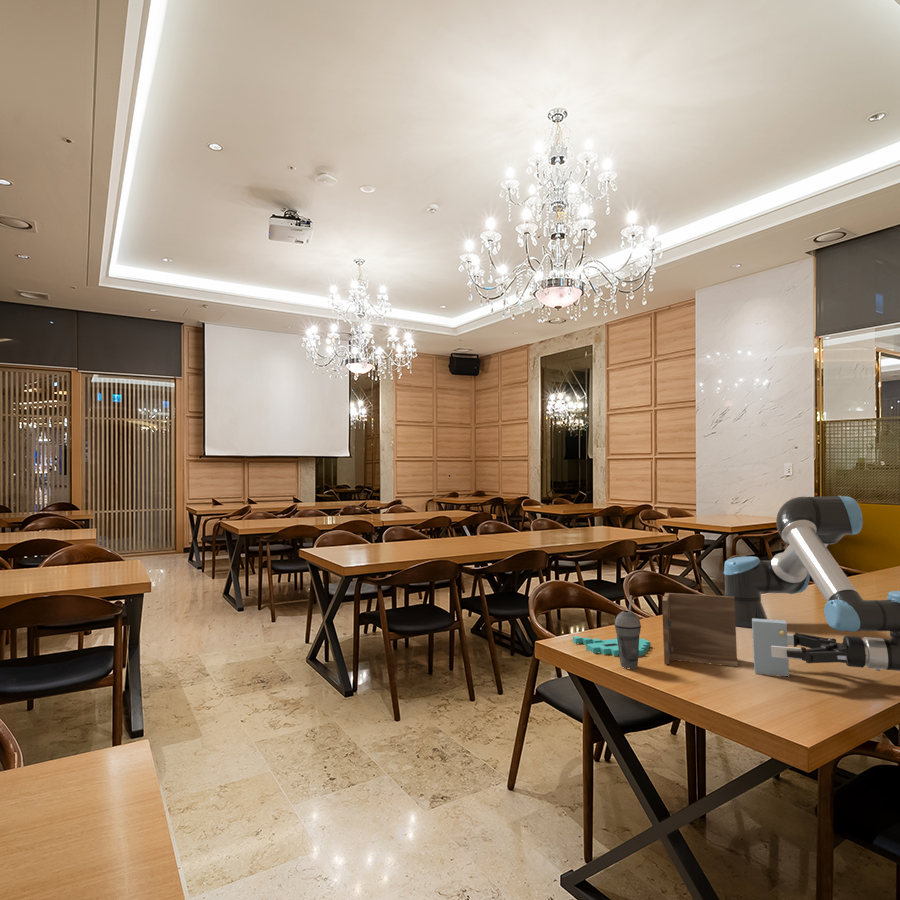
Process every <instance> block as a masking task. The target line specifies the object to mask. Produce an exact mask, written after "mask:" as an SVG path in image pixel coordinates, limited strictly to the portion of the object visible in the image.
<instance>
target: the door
mask: <svg viewBox="0 0 900 900" xmlns="http://www.w3.org/2000/svg"><path fill="white" fill-rule="evenodd" d="M751 628H752V643H753V644H752V645H753V646H752V647H753V667H754V668H753V670H755V671H754V674H755V673H757V674H756V675H762V674H766V675H765V676H771V675H778V676H777V677H781V676H788V677H787V678H790V667H789V666H790V665H789V663H790V662H789V659H788V658H777V657H772V650H771V646H781V647H789V645H788V641H787V634H788V623H787V621H786V620H785V619H783V620H780V619H768V618H767V619H755V618H752V627H751Z"/></svg>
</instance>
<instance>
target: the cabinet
mask: <svg viewBox="0 0 900 900" xmlns="http://www.w3.org/2000/svg"><path fill="white" fill-rule="evenodd" d="M661 605H662V606H661V609H662V612H661V613H662V633H663V634H662V635H663V660H664V663H663V664H669V665H670V662H671V661H674V660H681V661H680V662H684V661H691V662H690V663H694V662H700V663H699V664H704V663H711V664H710V665H713V664H721V665H720V666H723V665H731V666H730V667H733V666H738V667H739V664H738V662H739V661H738V651H737V650H738V649H737V626H736V624H735V600H734V597H730V596H724V595H713V594H711V595H710V594H709V595H707V594H695V593H694V594H691V593H690V594H689V593H675V592H664V595H663V598H662V601H661Z"/></svg>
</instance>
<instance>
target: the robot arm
mask: <svg viewBox="0 0 900 900" xmlns="http://www.w3.org/2000/svg"><path fill="white" fill-rule="evenodd" d="M863 522H864V521H863V513H862V510H861V506H860V505H859V503H858V501H856V500H855V499H854V498H853V497H851V496H845V495H843V496H842V495H833V496H832V495H831V496H797V497H794V498H791V499H789V500H787V501H786V502H785V503H783V504H782V506H781V507H780V508H779V510H778V512H777V515H776V529H777V532H778V534H779V537H780V538H781V539H782V541H784V543H785V544H788V546H787V547H786V548H785V550H784V551H783V552H778V553H777V554H775V555H774V556H773V557H772V559H771V560H760V558H759V557H758V556H752V555H751V556H737V557H736V556H735V557H731V558H728V559H727V560H725V561H724V566H723V576H724V595H725V596H730V597H734V600H735V624H736V627H740V626H741V627H742V628H752V618H755V619H768V616H767V614H766V611H765V608H764V607H763V603H762V594H790V595H795V594H801V593H803V592H804V591H806V590H807V589H808V587H809V581H810V578H811V579H812V581H813V583H814V584H815V586H816V587H817V589H818V590H819V592H820V593H821V595H822V596H823V599H824V601H826V603H825V605H824V608H823V611H824V617H825V621H826V623H827V624H828V626H829V627H830V628H831V629H833V630H835V631H838V632H839V631H841V632H850V633H854V632H889V636H890V638H882V637H870V636H869V637H868V636H864V637H863V638H862V637H860V636H853V635H845V636H843V637H842V643H841V642H837V639H836V638H829V637H822V636H817V635H810V634H805V633H799V632H795V633H793V634H788V633H787V641H788V647H781V646H771V650H772V657H777V658H788V660H789V659H790V660H801V661H804V662H805V663H806V664H821V663H823V664H825V663H826V664H828V663H841V664H846V666H848V667H852V668H860V669H861V668H862V669H863V668H864V667H866V668H867V669H875V671H877V672H881V670H886V671H887V670H888V671H896V672H900V590H891V591H889V592H888V594H887V597H886V598H887V599H872V600H871V599H863V598H862V595H860V594H859V592H858V591H857V589H856V588H855V587H854V585H853V583H852V582H851V581H850V579H849V577H848V576H847V575H846V573H845V572H844V571H843V569H842V568H841V566H840V565H839V563H838V562H837V561H836V559H835V558H834V557H833V555H832V554H831V552H830V551H829V549H828V548H827V547H828V546H829V545H834V544H836V543H838V542H839V541H840V540H841V539H842V538H843V537H844V536H848V535H849V536H853V535H858V534H860V532H861V531H862V528H863ZM741 627H740V628H741ZM790 646H793V647H790ZM798 646H800V647H798Z"/></svg>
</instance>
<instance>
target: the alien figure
mask: <svg viewBox="0 0 900 900" xmlns="http://www.w3.org/2000/svg"><path fill="white" fill-rule="evenodd" d="M573 642H574V643H573ZM572 643H573V644H575V643H583V644H582V645H584V644H585V645H584V646H585V648H586V649H587V650H586V649H585V650H586V651H588V650H589V651H591V652H593V653H596V654H601V653H602V654H601V655H603V654H612V655H614V656H613V657H618V656H617V655H619V648H618V640H617V636H616V637H615V638H613V639H603V640H602V639H599V638H591V637H582V636H572ZM651 645H652V644H651V641H649V640H647V639H645V638H643V637H642V638H639V653H638V657H643V656H642V655H645V654H647V653H646V652H648V651H649V650H650V648H649V647H651ZM589 651H588V652H589ZM591 652H590V653H591ZM598 652H600V653H598ZM593 653H592V654H593ZM612 655H611V656H612Z"/></svg>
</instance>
